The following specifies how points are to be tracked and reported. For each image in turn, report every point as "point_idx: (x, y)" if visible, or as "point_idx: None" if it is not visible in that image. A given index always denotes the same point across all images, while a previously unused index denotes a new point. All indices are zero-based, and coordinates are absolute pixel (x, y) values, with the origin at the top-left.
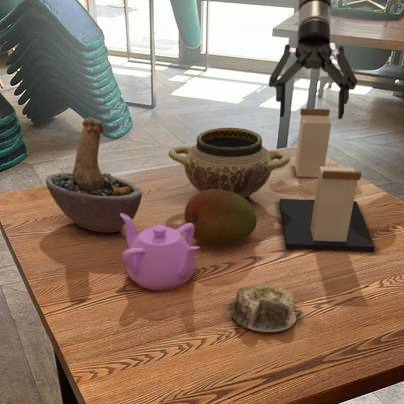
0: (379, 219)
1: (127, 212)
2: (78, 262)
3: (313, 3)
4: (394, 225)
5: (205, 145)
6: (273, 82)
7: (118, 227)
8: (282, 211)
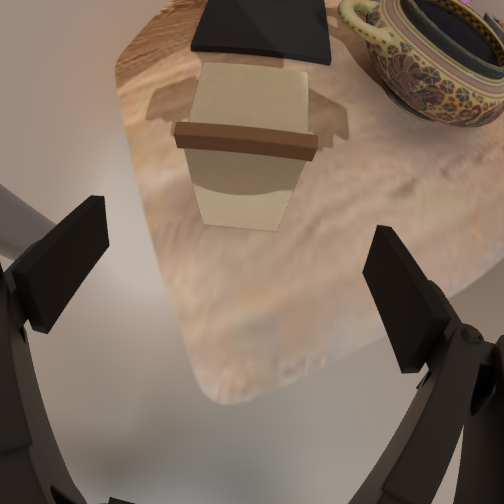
0: (173, 24)
1: None
2: None
3: None
4: (160, 15)
5: (479, 15)
6: (490, 345)
7: None
8: (327, 30)
